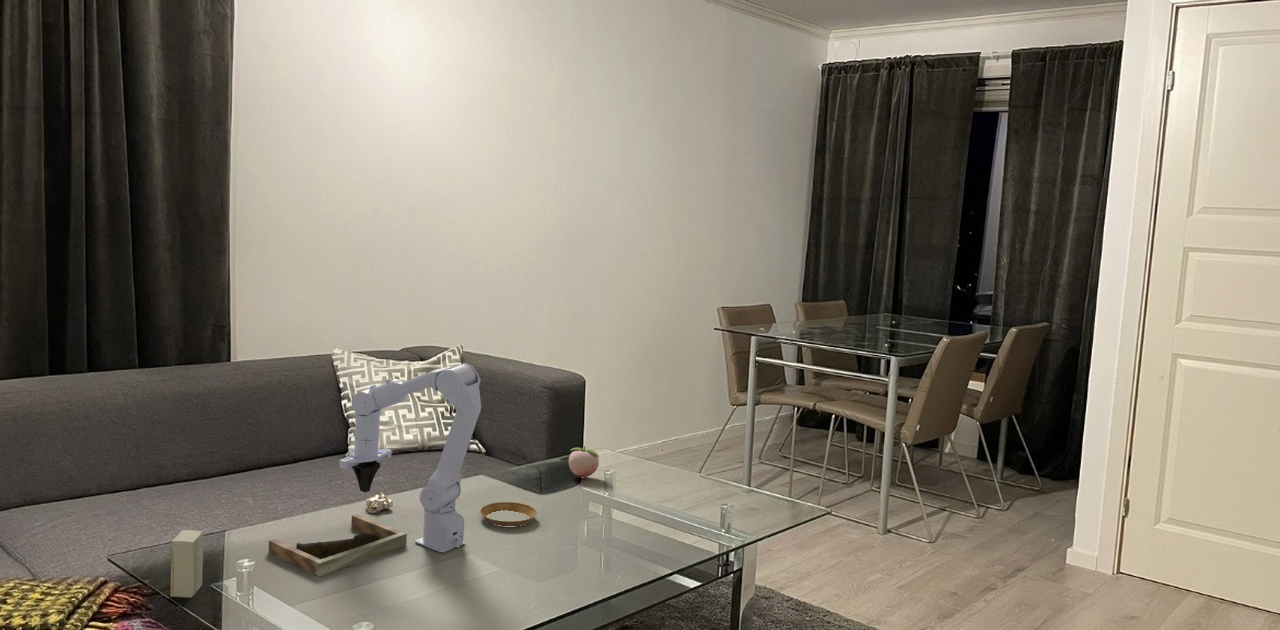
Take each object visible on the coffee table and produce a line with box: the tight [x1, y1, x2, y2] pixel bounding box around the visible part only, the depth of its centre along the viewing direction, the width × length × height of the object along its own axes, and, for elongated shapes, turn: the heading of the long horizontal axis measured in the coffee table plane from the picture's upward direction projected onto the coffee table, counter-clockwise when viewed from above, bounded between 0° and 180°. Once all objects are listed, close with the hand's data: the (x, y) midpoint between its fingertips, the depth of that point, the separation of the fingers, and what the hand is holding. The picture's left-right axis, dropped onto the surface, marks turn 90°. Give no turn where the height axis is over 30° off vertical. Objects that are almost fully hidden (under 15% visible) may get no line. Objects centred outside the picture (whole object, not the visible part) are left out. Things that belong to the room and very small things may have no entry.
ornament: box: [365, 492, 394, 514], centre depth 258 cm, size 8×7×4 cm
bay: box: [268, 513, 408, 577], centre depth 230 cm, size 18×25×3 cm
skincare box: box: [170, 529, 204, 599], centre depth 202 cm, size 6×4×12 cm
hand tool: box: [295, 533, 380, 558], centre depth 227 cm, size 19×4×5 cm, turn 115°
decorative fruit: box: [568, 445, 600, 478], centre depth 296 cm, size 9×8×10 cm
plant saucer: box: [479, 501, 538, 527], centre depth 258 cm, size 15×15×3 cm
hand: (364, 490), depth 244 cm, fingers closed
